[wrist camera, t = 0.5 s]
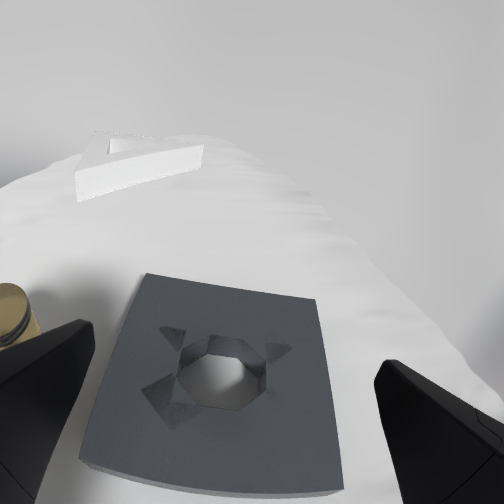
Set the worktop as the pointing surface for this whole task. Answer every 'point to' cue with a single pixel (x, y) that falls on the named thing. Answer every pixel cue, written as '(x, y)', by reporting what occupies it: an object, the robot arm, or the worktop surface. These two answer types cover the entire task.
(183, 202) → the worktop surface
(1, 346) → the cylinder
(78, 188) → the triangle block
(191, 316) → the grey octagonal hole plate
